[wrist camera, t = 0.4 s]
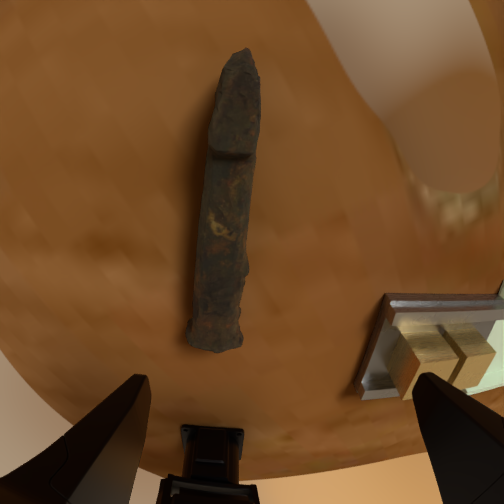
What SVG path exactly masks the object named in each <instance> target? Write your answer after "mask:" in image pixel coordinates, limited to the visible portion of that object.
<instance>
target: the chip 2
mask: <svg viewBox="0 0 504 504" xmlns="http://www.w3.org/2000/svg"><path fill="white" fill-rule="evenodd" d="M443 338H444V339H445V341H446V342H447V343H448V344H449V346H450V347H451V348H452V350H453V351H454V352H455V354H456V355H457V356H458V358H459V360H458V362H457V364H456V366H455V368H454V370H453V371H452V373H451V375H450V377H449V379H448V380H447V382H448V383H450V384H451V385H453V386H455V387H456V388H458V389H459V390H462V389H466V388H471V387H475V386H478V384H479V383H480V381H481V379H482V378H483V376H484V374H485V373H486V371H487V369H488V367H489V366H490V364H491V362H492V360H493V358H494V357H495V355H496V353H497V352H496V351H495V350H494V349H493V347H492V346H491V345H490V344H489V343H488V342H487V341H486V339H485V338H484V337H483V336H482V335H481V334H480V333H479V332H478V330H477V329H476V328H467V329H454V330H446V331H445V333H444V336H443Z"/></svg>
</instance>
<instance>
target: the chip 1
mask: <svg viewBox="0 0 504 504" xmlns="http://www.w3.org/2000/svg"><path fill="white" fill-rule="evenodd" d="M458 360H459V358H458V356H457V355H456V354H455V352H454V351H453V350H452V348H451V347H450V346H449V344H448V343H447V342H446V341H445V339H444V338H443V337H442V335H441V334H440V333H439V332H438V331H422V332H401V334H400V336H399V339H398V342H397V344H396V347H395V349H394V351H393V354H392V356H391V359H390V361H389V363H388V366H387V368H386V369H387V371H388V373H389V375H390V377H391V379H392V381H393V383H394V385H395V387H396V389H397V391H398V393H399V395H400V397H401V399H402V400H407V399H413V398H412V389H413V387H414V385H415V383H416V381H417V379H418V377H419V375H420V374H421V373H424V372H432V373H434V374H436V375H437V376H439V377H440V378H442V379H444V380H445V381H447V380H448V379H449V377H450V375H451V373H452V371H453V370H454V368H455V366H456V364H457V362H458Z"/></svg>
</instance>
